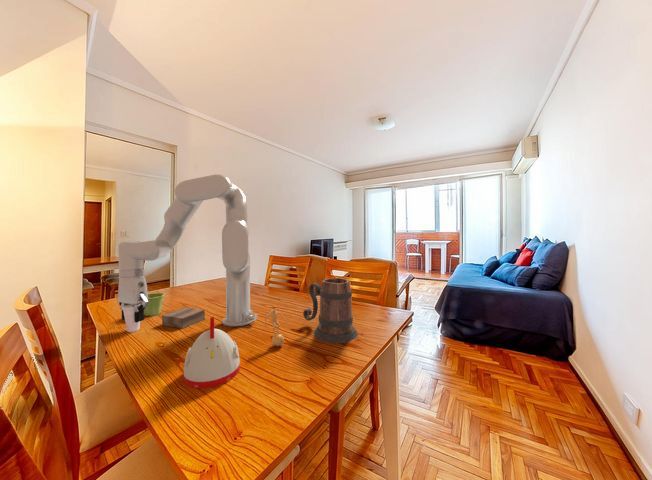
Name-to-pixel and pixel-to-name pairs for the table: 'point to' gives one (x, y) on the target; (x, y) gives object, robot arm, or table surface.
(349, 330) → the tankard
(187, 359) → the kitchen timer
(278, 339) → the figurine
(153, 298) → the plant pot
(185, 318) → the plinth
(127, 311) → the smoothie
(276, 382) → the table surface
